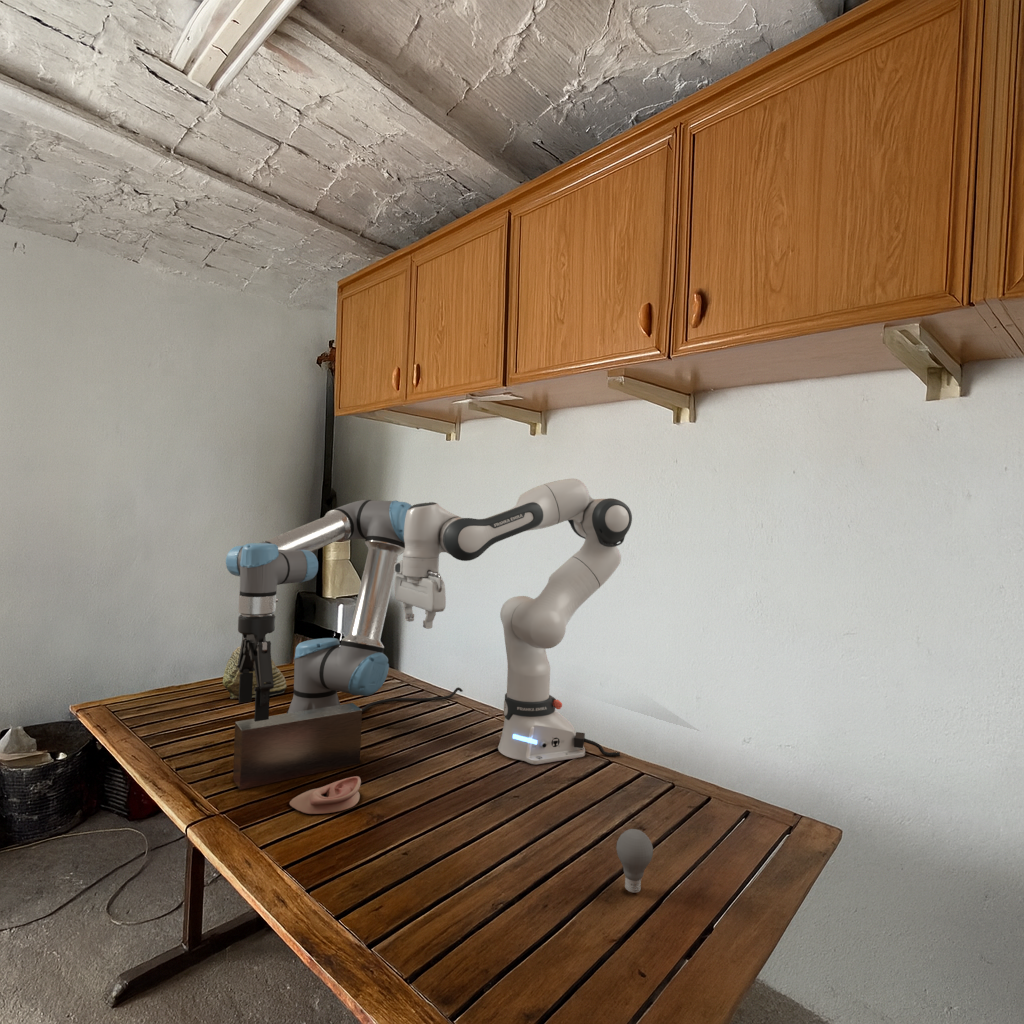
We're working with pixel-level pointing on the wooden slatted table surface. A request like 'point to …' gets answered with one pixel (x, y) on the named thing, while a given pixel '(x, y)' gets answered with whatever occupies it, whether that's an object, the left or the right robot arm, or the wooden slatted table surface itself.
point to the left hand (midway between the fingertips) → (253, 710)
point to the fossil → (233, 677)
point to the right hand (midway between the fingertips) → (418, 624)
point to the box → (296, 744)
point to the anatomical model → (329, 797)
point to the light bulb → (634, 857)
